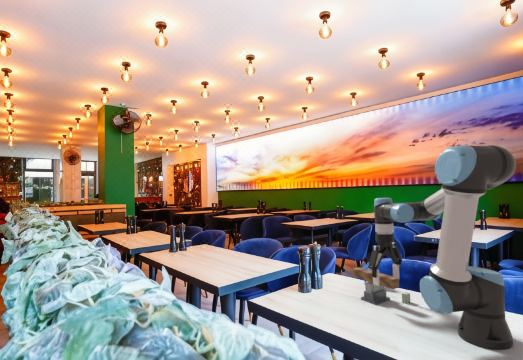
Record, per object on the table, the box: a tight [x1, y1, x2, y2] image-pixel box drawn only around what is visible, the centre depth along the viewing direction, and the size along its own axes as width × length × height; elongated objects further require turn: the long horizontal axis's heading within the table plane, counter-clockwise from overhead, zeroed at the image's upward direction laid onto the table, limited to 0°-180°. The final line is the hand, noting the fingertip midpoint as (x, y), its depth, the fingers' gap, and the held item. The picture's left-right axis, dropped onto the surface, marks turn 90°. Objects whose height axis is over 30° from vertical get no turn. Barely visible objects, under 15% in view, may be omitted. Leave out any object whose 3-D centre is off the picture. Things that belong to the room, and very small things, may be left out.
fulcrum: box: [360, 282, 391, 306], centre depth 144 cm, size 8×10×8 cm
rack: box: [364, 281, 411, 305], centre depth 148 cm, size 22×3×4 cm, turn 32°
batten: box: [352, 266, 400, 290], centre depth 144 cm, size 22×4×4 cm, turn 32°
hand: (386, 282), depth 139 cm, fingers open, 13 cm apart
